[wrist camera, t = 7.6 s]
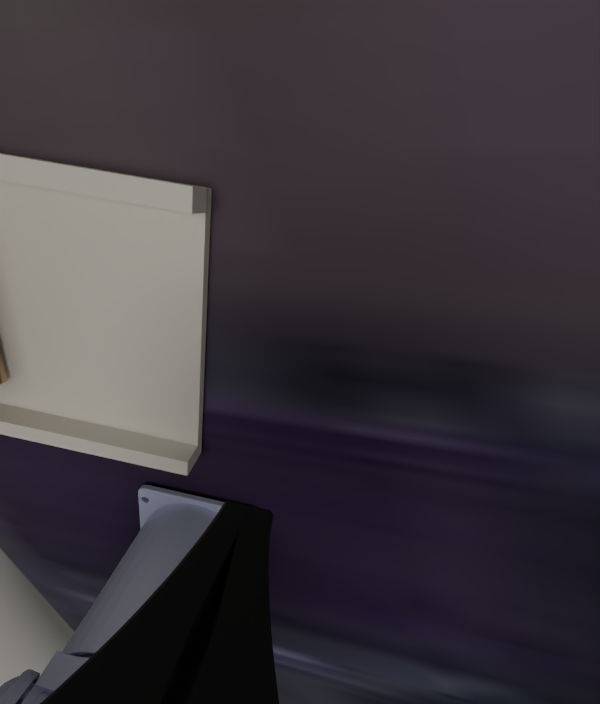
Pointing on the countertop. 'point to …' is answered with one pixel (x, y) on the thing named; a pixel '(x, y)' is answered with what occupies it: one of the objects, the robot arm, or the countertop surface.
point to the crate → (2, 371)
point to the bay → (103, 311)
